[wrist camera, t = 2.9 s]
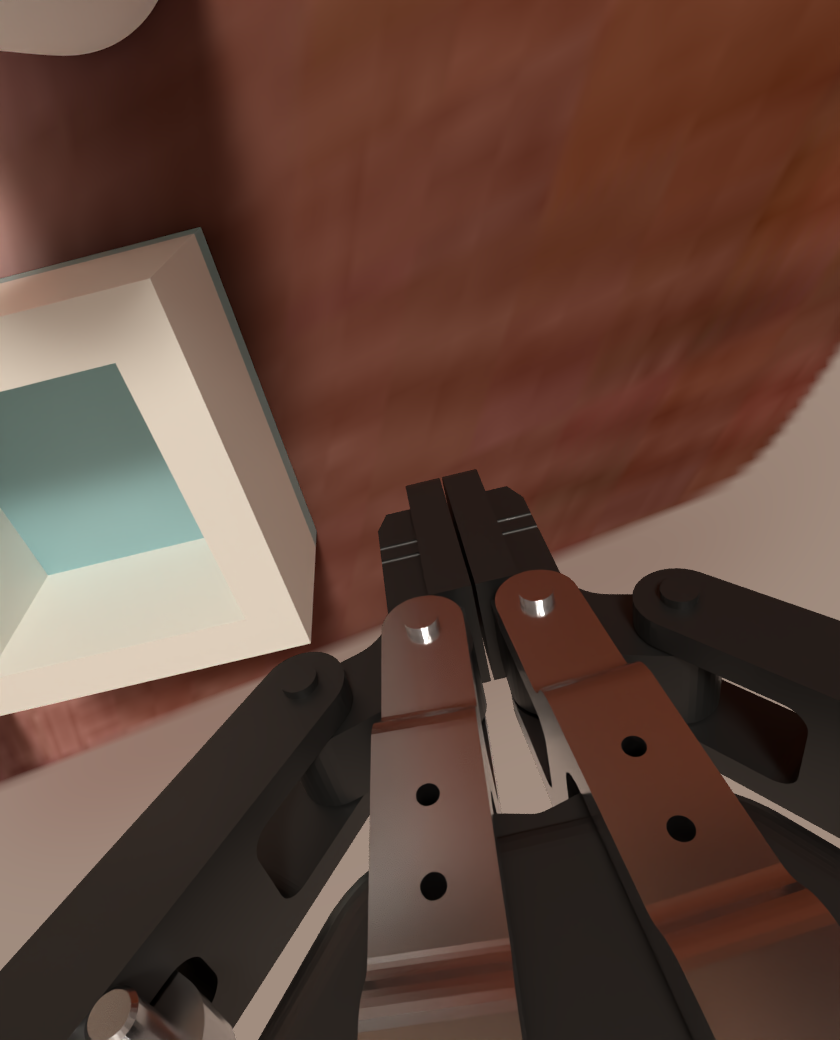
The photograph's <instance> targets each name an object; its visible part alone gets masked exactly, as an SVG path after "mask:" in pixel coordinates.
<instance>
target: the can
mask: <svg viewBox="0 0 840 1040" xmlns="http://www.w3.org/2000/svg"><path fill="white" fill-rule="evenodd" d="M157 2H158V0H0V51H6V52H17V53H28V54H39V55H55V56H72V55H82V54H87V53H92V52H96V51H99V50H102V49H105V48H108V47H110V46H112V45H114V44H116V43H118V42H119V41H121V40H123V39H124V38H126V37H127V36H128V35H130V34H131V33H132V32H133V31H134V30H136V29H137V28H138V27H139V26H140V25H141V24H142V23H143V21H144V20H145V19H146V18H147V17H148V15H149V14H150V13H151V11H152V10H153V8H154V7H155V5H156V3H157Z"/></svg>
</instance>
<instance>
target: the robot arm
mask: <svg viewBox="0 0 840 1040" xmlns="http://www.w3.org/2000/svg"><path fill="white" fill-rule="evenodd" d="M442 480H443V486H444V490H445V495H446V498H445V495H444V492H443V488H442V485H441V482H440V479H439V478H437V479H433V480H429V481H425V482H420V483H416V484H412V485H408V486H406V490H407V495H408V500H409V505H410V509H409V510H405V511H401V512H397V513H393V514H388V515H386V517H385V519H384V521H383V523H382V525H381V527H380V529H379V531H378V534H379V543H380V549H381V559H382V567H383V576H384V584H385V592H386V600H387V608H388V615H387V617H386V618H385V620H384V622H383V625H382V634H381V636H380V637H379V638H378V639H377V640H376V641H375V642H374V643H373V644H372V645H371V646H370V647H368V648H367V649H365V650H364V651H362V652H360V653H359V654H357V655H355V656H353V657H351V658H349V659H347V660H345V661H343V662H341V663H340V662H339V661H338V660H337V659H336V658H334V657H333V656H331V655H329V654H326V653H322V652H308V653H303V654H299V655H296V656H293V657H291V658H289V659H287V660H285V661H283V662H282V663H280V664H279V665H278V666H276V667H275V668H274V669H273V670H272V671H271V672H270V673H269V674H268V675H267V676H266V677H265V678H264V679H263V680H262V682H261V683H260V684H259V685H258V686H257V687H256V688H255V689H254V690H253V692H252V693H251V694H250V695H249V696H248V697H247V698H246V699H245V700H244V702H243V703H242V704H241V705H240V706H239V707H238V708H237V709H236V710H235V712H234V713H233V714H232V715H231V716H230V717H229V718H228V719H227V720H226V722H225V723H224V724H223V725H222V726H221V727H220V728H219V729H218V730H217V732H216V733H215V734H214V735H213V736H212V737H211V738H210V739H209V740H208V741H207V742H206V744H205V745H204V746H203V747H202V748H201V749H200V750H199V751H198V753H197V754H196V755H195V756H194V757H193V758H192V759H191V760H190V762H188V764H187V765H186V766H185V767H184V768H183V769H182V770H181V771H180V772H179V774H178V775H177V776H176V777H175V778H174V779H173V780H172V781H171V783H169V785H168V786H167V787H166V788H165V789H164V790H163V791H162V792H161V794H160V795H159V796H158V797H157V798H156V799H155V800H154V801H153V802H152V804H151V805H150V806H149V807H148V808H147V809H146V810H145V811H144V812H143V813H142V814H141V816H140V817H139V818H138V819H137V820H136V821H135V822H134V823H133V824H132V826H131V827H130V828H129V829H128V830H127V831H126V832H125V833H124V834H123V836H122V837H121V838H120V839H119V840H118V841H117V842H116V843H115V844H114V845H113V847H112V848H111V849H110V850H109V851H108V852H107V853H106V854H105V856H104V857H103V858H102V859H101V860H100V861H99V862H98V863H97V864H96V865H95V867H94V868H93V869H92V870H91V871H90V872H89V873H88V874H87V876H86V877H85V878H84V879H83V880H82V881H81V882H80V883H79V884H78V885H77V887H76V888H75V889H74V890H73V891H72V892H71V893H70V894H69V895H68V897H67V898H66V899H65V900H64V901H63V902H62V903H61V904H60V905H59V906H58V908H57V909H56V910H55V911H54V912H53V913H52V914H51V915H50V917H49V918H48V919H47V920H46V921H45V922H44V923H43V924H42V925H41V926H40V927H39V929H38V930H37V931H36V932H35V933H34V934H33V935H32V936H31V937H30V939H29V940H28V941H27V942H26V943H25V944H24V945H23V946H22V947H21V949H20V950H19V951H18V952H17V953H16V954H15V955H14V956H13V957H12V959H11V960H10V961H9V962H8V963H7V964H6V965H5V966H4V967H3V968H2V970H1V971H0V1040H236V1039H235V1034H234V1032H233V1027H234V1026H235V1024H236V1023H237V1021H238V1020H239V1018H240V1016H241V1015H242V1013H243V1012H244V1010H245V1009H246V1007H247V1006H248V1004H249V1003H250V1001H251V999H252V998H253V996H254V995H255V993H256V992H257V990H258V988H259V987H260V985H261V984H262V982H263V981H264V979H265V977H266V976H267V974H268V972H269V971H270V970H271V968H272V967H273V965H274V963H275V962H276V960H277V959H278V957H279V956H280V954H281V952H282V951H283V949H284V948H285V946H286V944H287V943H288V941H289V940H290V938H291V937H292V935H293V934H294V932H295V931H296V929H297V928H298V926H299V924H300V923H301V921H302V919H303V918H304V916H305V915H306V913H307V912H308V910H309V909H310V907H311V906H312V904H313V903H314V901H315V899H316V898H317V896H318V895H319V893H320V892H321V890H322V888H323V887H324V885H325V884H326V882H327V881H328V879H329V878H330V876H331V874H332V873H333V871H334V870H335V868H336V867H337V865H338V863H339V862H340V860H341V859H342V857H343V856H344V854H345V852H346V851H347V849H348V848H349V846H350V845H351V843H352V842H353V840H354V838H355V837H356V835H357V834H358V832H359V831H360V829H361V827H362V826H363V824H364V823H365V821H366V819H367V818H368V817H369V815H370V833H369V834H370V835H369V836H370V837H369V871H368V872H366V873H365V874H364V875H363V876H362V877H361V878H359V880H357V882H356V883H355V884H354V885H353V886H352V887H351V888H350V889H349V890H348V891H347V892H346V893H345V895H344V896H343V897H342V899H341V900H340V901H339V903H338V904H337V905H336V907H335V908H334V909H333V911H332V913H331V914H330V916H329V917H328V919H327V921H326V923H325V924H324V926H323V928H322V929H321V931H320V933H319V934H318V936H317V938H316V940H315V942H314V943H313V945H312V947H311V948H310V950H309V952H308V954H307V955H306V957H305V959H304V961H303V962H302V964H301V966H300V968H299V969H298V971H297V973H296V975H295V976H294V978H293V980H292V982H291V983H290V985H289V987H288V989H287V990H286V992H285V994H284V996H283V998H282V999H281V1001H280V1003H279V1004H278V1006H277V1008H276V1010H275V1012H274V1013H273V1015H272V1017H271V1018H270V1020H269V1022H268V1024H267V1025H266V1027H265V1029H264V1031H263V1032H262V1035H261V1036H260V1038H259V1039H258V1040H840V849H839V848H838V847H836V846H834V845H833V844H831V843H829V842H827V841H826V840H824V839H822V838H821V837H819V836H817V835H815V834H814V833H812V832H810V831H809V830H807V829H805V828H804V827H802V826H800V825H798V824H797V823H795V822H793V821H792V820H790V819H788V818H787V817H785V816H783V815H781V814H780V813H778V812H776V811H774V810H772V809H770V808H769V807H766V806H764V805H762V804H760V803H757V802H755V801H753V800H751V799H748V798H745V797H743V796H739V795H737V794H734V793H733V792H732V790H731V789H730V787H729V786H728V784H727V783H726V781H725V780H724V778H723V777H722V775H724V776H726V777H728V778H730V779H732V780H733V781H735V782H737V783H739V784H741V785H743V786H745V787H746V788H748V789H750V790H752V791H754V792H756V793H758V794H759V795H761V796H763V797H765V798H767V799H768V800H770V801H772V802H774V803H776V804H778V805H779V806H781V807H783V808H785V809H787V810H789V811H790V812H793V813H794V814H796V815H798V816H800V817H802V818H804V819H805V820H807V821H809V822H811V823H813V824H814V825H816V826H818V827H820V828H822V829H824V830H825V831H827V832H829V833H831V834H833V835H835V836H836V837H838V838H840V621H839V620H836V619H833V618H830V617H827V616H825V615H822V614H819V613H816V612H813V611H810V610H807V609H804V608H801V607H799V606H796V605H793V604H790V603H787V602H784V601H781V600H778V599H776V598H773V597H770V596H767V595H764V594H761V593H758V592H755V591H753V590H750V589H747V588H744V587H741V586H738V585H735V584H732V583H729V582H726V581H724V580H721V579H718V578H715V577H712V576H709V575H706V574H704V573H701V572H697V571H693V570H688V569H678V568H675V569H664V570H659V571H656V572H653V573H651V574H648V575H647V576H645V577H643V578H642V579H641V580H640V581H639V582H638V583H637V584H636V586H635V588H634V590H633V594H631V595H630V594H629V595H628V594H625V595H624V594H622V595H621V594H619V595H618V594H617V595H616V594H610V595H609V594H597V593H591V592H588V591H584V590H582V589H579V588H578V587H577V586H576V584H575V583H574V582H573V581H572V580H571V579H570V578H569V577H567V576H565V575H563V574H561V573H560V572H559V570H558V568H557V566H556V563H555V561H554V559H553V557H552V555H551V553H550V551H549V549H548V547H547V545H546V543H545V541H544V539H543V537H542V535H541V533H540V531H539V529H538V528H537V525H536V523H535V521H534V519H533V517H532V515H531V513H530V510H529V508H528V506H527V504H526V502H525V500H524V498H523V497H522V496H521V495H519V494H518V493H516V492H515V491H513V490H511V489H510V488H508V487H507V486H506V487H501V488H497V489H493V490H489V491H485V489H484V487H483V484H482V482H481V479H480V477H479V474H478V472H477V470H476V469H474V470H470V471H466V472H462V473H458V474H453V475H449V476H445V477H442ZM446 500H447V502H446ZM482 639H483V640H482ZM483 642H484V645H483ZM484 646H485V649H486V653H487V656H488V659H489V663H490V666H491V670H492V673H493V677H494V680H496V679H501V678H505V677H507V680H508V684H509V687H510V690H511V694H512V700H513V705H514V711H515V714H516V717H517V720H518V722H519V724H520V727H521V729H522V732H523V734H524V737H525V739H526V742H527V744H528V747H529V749H530V751H531V754H532V756H533V759H534V761H535V764H536V766H537V768H538V771H539V773H540V776H541V778H542V781H543V783H544V786H545V788H546V791H547V793H548V795H549V798H550V801H551V804H552V806H553V807H552V808H550V809H548V810H546V811H544V812H541V813H537V814H502V812H501V806H500V800H499V794H498V788H497V781H496V776H495V769H494V763H493V757H492V751H491V745H490V739H489V732H488V726H487V721H486V716H485V713H486V699H485V694H484V690H483V685H482V683H485V682H489V681H491V679H490V675H489V670H488V665H487V660H486V655H485V650H484ZM722 678H725V679H727V680H729V681H732V682H734V683H736V684H738V685H741V686H743V687H745V688H747V689H749V690H752V691H754V692H756V693H758V694H761V695H763V696H765V697H767V698H770V699H772V700H774V701H777V702H779V703H781V704H783V705H785V706H787V707H789V708H790V709H792V710H793V711H794V712H793V711H791V710H788V709H786V708H784V707H782V706H780V705H778V704H775V703H773V702H771V701H769V700H766V699H764V698H762V697H760V696H757V695H755V694H753V693H751V692H748V691H746V690H744V689H742V688H740V687H737V686H735V685H733V684H731V683H728V682H726V681H724V680H722ZM795 712H796V713H795ZM720 773H721V774H722V775H721V774H720Z"/></svg>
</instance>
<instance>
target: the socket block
mask: <svg viewBox="0 0 840 1040" xmlns="http://www.w3.org/2000/svg"><path fill="white" fill-rule="evenodd" d="M316 533H317V531H316V529H315V526H314V523H313V521H312V518H311V515H310V513H309V510H308V508H307V505H306V502H305V500H304V497H303V494H302V492H301V489H300V487H299V484H298V481H297V479H296V476H295V473H294V471H293V468H292V466H291V463H290V460H289V458H288V455H287V452H286V450H285V447H284V445H283V442H282V439H281V437H280V434H279V431H278V429H277V426H276V424H275V421H274V418H273V416H272V413H271V410H270V408H269V405H268V402H267V400H266V397H265V395H264V392H263V389H262V387H261V384H260V381H259V379H258V376H257V374H256V371H255V368H254V366H253V363H252V360H251V358H250V355H249V353H248V350H247V347H246V345H245V342H244V339H243V337H242V334H241V332H240V329H239V326H238V324H237V321H236V318H235V316H234V313H233V311H232V308H231V305H230V303H229V300H228V297H227V295H226V292H225V290H224V287H223V284H222V282H221V279H220V276H219V274H218V271H217V269H216V266H215V263H214V261H213V258H212V255H211V253H210V250H209V248H208V245H207V242H206V240H205V237H204V234H203V232H202V229H201V227H198V228H194V229H190V230H186V231H183V232H179V233H175V234H171V235H167V236H163V237H159V238H156V239H152V240H148V241H144V242H140V243H136V244H132V245H128V246H125V247H121V248H117V249H113V250H109V251H105V252H101V253H98V254H94V255H90V256H86V257H82V258H78V259H74V260H70V261H67V262H63V263H59V264H55V265H51V266H47V267H43V268H40V269H36V270H32V271H28V272H24V273H20V274H16V275H12V276H9V277H5V278H1V279H0V716H2V715H6V714H11V713H15V712H19V711H24V710H28V709H32V708H36V707H41V706H45V705H49V704H54V703H58V702H62V701H66V700H71V699H75V698H79V697H83V696H88V695H92V694H96V693H101V692H105V691H109V690H113V689H118V688H122V687H126V686H131V685H135V684H139V683H143V682H148V681H152V680H156V679H160V678H165V677H169V676H173V675H178V674H182V673H186V672H190V671H195V670H199V669H203V668H208V667H212V666H216V665H220V664H225V663H229V662H233V661H237V660H242V659H246V658H250V657H255V656H259V655H263V654H267V653H272V652H276V651H280V650H284V649H289V648H293V647H297V646H302V645H306V644H310V643H311V630H312V611H313V592H314V572H315V553H316Z"/></svg>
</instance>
